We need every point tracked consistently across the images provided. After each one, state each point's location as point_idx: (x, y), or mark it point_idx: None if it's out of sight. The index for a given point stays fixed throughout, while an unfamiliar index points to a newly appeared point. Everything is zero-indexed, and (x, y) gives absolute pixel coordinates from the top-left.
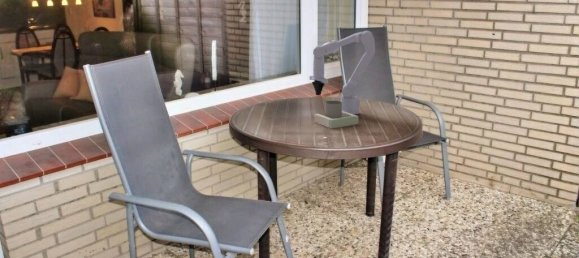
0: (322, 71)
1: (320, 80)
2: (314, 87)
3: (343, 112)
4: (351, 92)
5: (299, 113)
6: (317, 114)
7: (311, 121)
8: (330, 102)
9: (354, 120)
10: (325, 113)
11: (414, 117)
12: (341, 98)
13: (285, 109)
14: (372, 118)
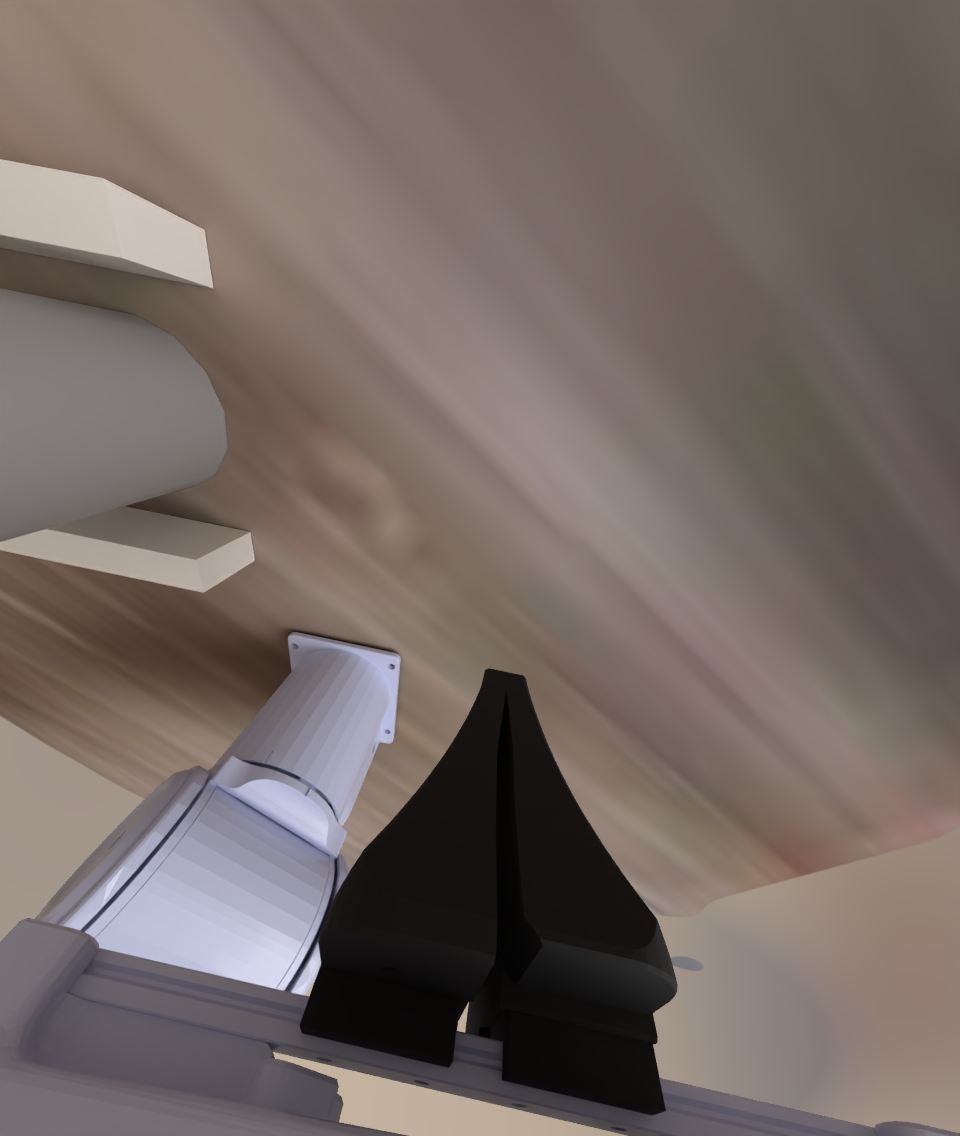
0: None
1: (111, 1106)
2: (557, 788)
3: (116, 548)
4: (107, 844)
5: (620, 398)
6: (76, 206)
7: (246, 220)
8: (2, 479)
9: None
10: (15, 294)
11: (133, 792)
12: (295, 758)
13: (904, 408)
14: (171, 681)
